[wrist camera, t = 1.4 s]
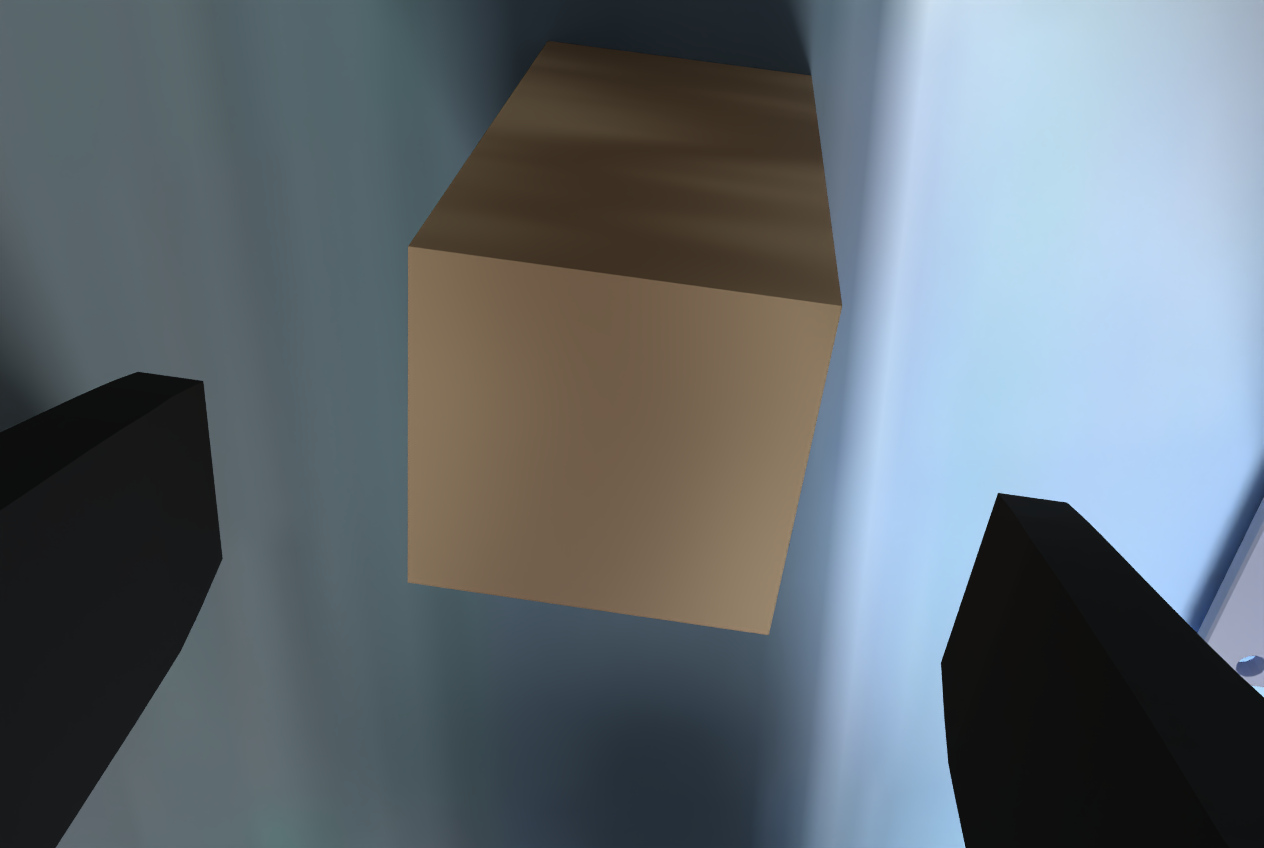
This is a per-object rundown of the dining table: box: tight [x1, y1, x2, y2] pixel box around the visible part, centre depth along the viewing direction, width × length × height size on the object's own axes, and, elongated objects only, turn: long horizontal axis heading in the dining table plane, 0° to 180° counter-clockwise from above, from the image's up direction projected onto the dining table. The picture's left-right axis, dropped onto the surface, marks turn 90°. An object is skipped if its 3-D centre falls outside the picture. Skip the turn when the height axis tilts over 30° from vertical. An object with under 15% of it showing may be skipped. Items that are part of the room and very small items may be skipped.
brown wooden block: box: [408, 41, 842, 635], centre depth 15 cm, size 4×4×8 cm
